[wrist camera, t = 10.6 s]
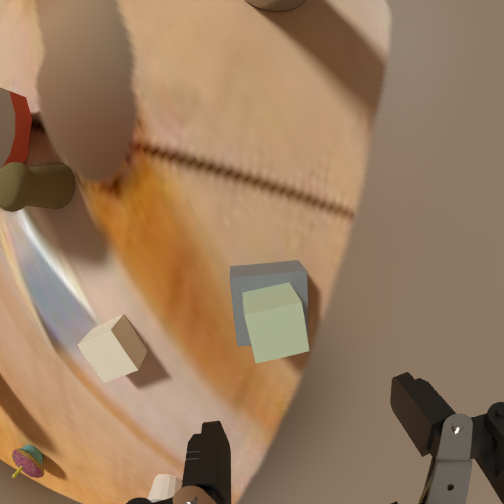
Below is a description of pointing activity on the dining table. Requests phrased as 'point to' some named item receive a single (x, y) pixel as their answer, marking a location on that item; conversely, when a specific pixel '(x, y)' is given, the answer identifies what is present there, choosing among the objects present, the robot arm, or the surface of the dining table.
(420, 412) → the robot arm
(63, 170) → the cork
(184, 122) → the dining table surface
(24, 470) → the cupcake
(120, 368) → the cream block
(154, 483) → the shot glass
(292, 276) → the slate block
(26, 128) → the french fries container
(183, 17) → the dining table surface
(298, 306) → the sage block
